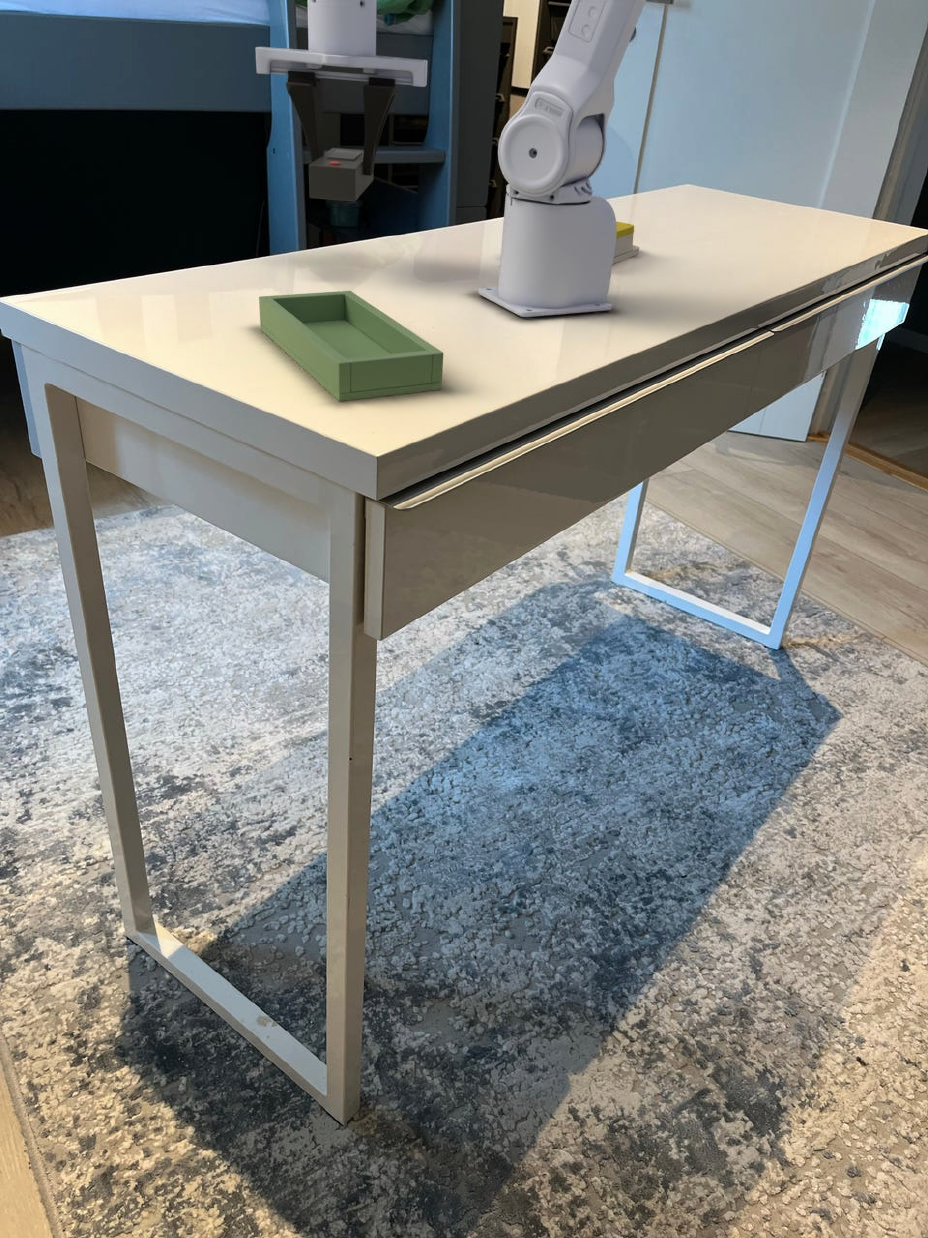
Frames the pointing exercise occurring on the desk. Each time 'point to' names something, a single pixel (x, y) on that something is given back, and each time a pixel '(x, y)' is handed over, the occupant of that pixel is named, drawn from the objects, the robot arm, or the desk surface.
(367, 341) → the tray
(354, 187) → the remote
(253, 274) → the desk surface
